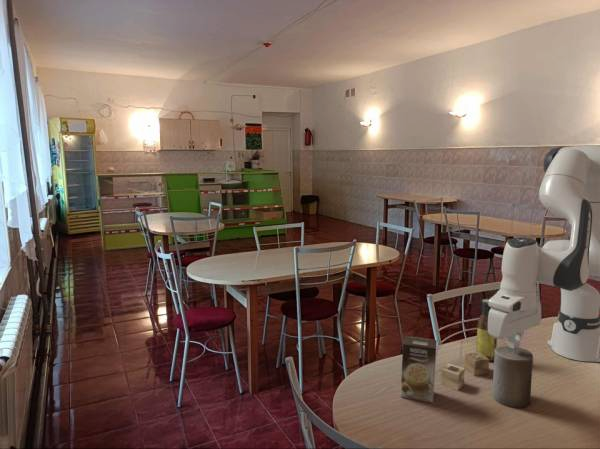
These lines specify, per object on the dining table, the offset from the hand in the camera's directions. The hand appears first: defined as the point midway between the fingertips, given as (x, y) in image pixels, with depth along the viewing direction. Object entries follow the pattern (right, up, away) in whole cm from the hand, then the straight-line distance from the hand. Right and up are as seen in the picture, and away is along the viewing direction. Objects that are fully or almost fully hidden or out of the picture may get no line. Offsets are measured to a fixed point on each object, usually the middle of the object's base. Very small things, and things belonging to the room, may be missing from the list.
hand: (513, 346), depth 120 cm
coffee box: (-25, -15, +5) cm, 30 cm away
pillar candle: (0, -15, +2) cm, 16 cm away
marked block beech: (-13, -14, +10) cm, 22 cm away
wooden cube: (-3, -13, +18) cm, 22 cm away
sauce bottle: (+4, -12, +27) cm, 30 cm away
